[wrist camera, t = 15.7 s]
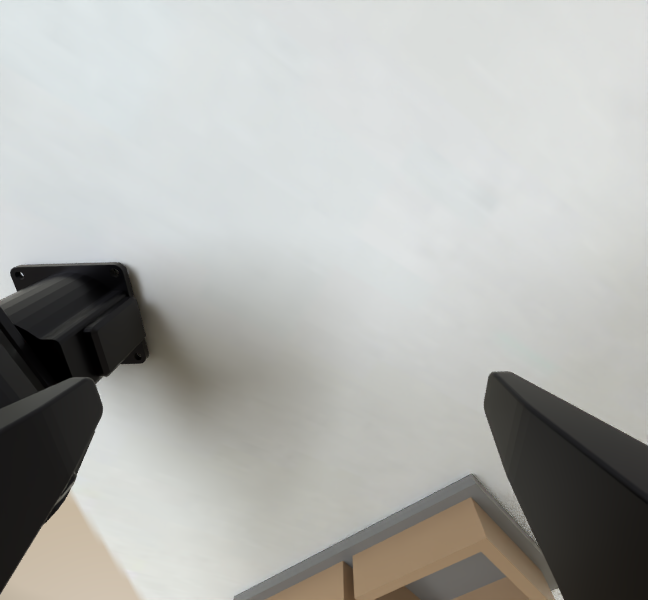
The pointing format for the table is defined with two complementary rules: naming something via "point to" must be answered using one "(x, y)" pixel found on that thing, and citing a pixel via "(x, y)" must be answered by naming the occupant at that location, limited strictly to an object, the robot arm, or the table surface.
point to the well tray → (425, 557)
